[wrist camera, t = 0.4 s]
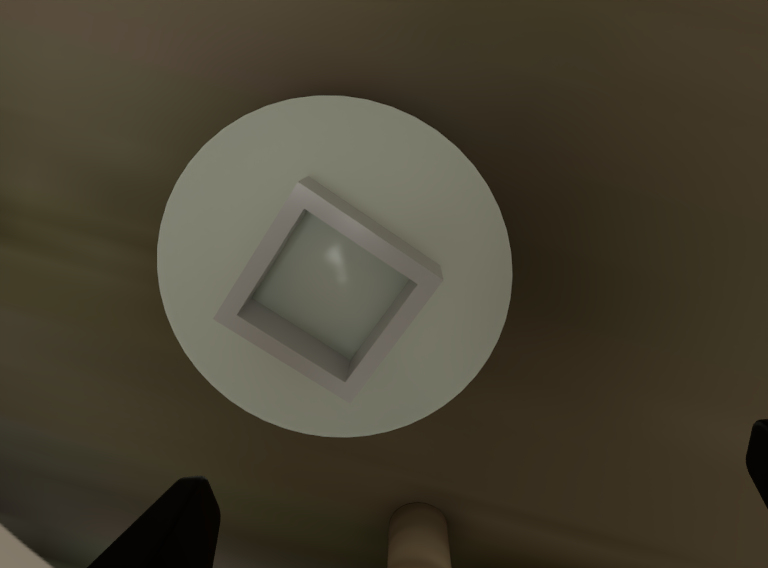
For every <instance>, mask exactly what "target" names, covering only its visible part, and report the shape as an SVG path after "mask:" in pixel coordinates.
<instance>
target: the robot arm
mask: <svg viewBox="0 0 768 568" xmlns="http://www.w3.org/2000/svg"><path fill="white" fill-rule="evenodd" d="M746 465H747V469H748V472H749V474H750V476H751V478H752V480H753V482H754V484H755V486H756V488H757V490H758V491H759V493H760V495H761V497H762V499H763V501H764V503H765V505H766V507H767V509H768V419H762V420H758V421H756V422H755V423H754V424H753V427H752V431H751V436H750V440H749V445H748V450H747V454H746ZM219 526H220V509H219V506H218V503H217V501H216V498H215V496H214V494H213V491H212V489H211V486H210V484H209V482H208V480H207V478H205V477H204V476H192V477H183V478H181V479H179V480H178V481H176V482H175V483H174V484H173V485H172V486H171V487H170V488H169V489H168V490H167V491H166V492H165V493H164V494H163V495H162V496H161V497H160V498H159V499H158V500H157V501H156V502H155V503H154V504H153V505H151V506H150V507H149V508H148V509H147V510H146V511H145V512H144V513H143V514H142V515H141V516H140V517H139V518H138V519H137V520H136V521H135V522H134V523H133V524H132V525H131V526H130V527H129V528H128V529H127V530H126V531H125V532H123V533H122V534H121V535H120V536H119V537H118V538H117V539H116V540H115V541H114V542H113V543H112V544H111V545H110V546H109V547H108V548H107V549H106V550H105V551H104V552H103V553H102V554H101V555H100V556H99V557H98V558H97V559H95V560H94V561H93V562H92V563H91V564H90V565H89V566H88V567H87V568H212V567H213V561H214V556H215V550H216V544H217V538H218V532H219Z"/></svg>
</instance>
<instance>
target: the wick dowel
mask: <svg viewBox="0 0 768 568" xmlns="http://www.w3.org/2000/svg"><path fill="white" fill-rule="evenodd" d="M387 568H451V560H450V550H449V540H448V530H447V522H446V519H445V517H444V515H443V514H442V513H441V512H440V511H439V510H438V509H437V508H435V507H433V506H431V505H429V504H425V503H411V504H407V505H404V506H402V507H400V508H399V509H398V510H396V511H395V512H394V514H393V515H392V517H391V519H390V523H389V543H388V567H387Z"/></svg>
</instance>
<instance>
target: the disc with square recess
mask: <svg viewBox="0 0 768 568" xmlns="http://www.w3.org/2000/svg"><path fill="white" fill-rule="evenodd" d="M157 271H158V279H159V287H160V293H161V297H162V301H163V304H164V308H165V312H166V315H167V317H168V320H169V322H170V325H171V327H172V329H173V332H174V334H175V336H176V338H177V339H178V341H179V343H180V345H181V347H182V348H183V350H184V352H185V353H186V355H187V356H188V357H189V359H190V360H191V361H192V363H193V364H194V366H195V367H196V368H197V370H198V371H199V372H200V373H201V374H202V375H203V376H204V377H205V378H206V379H207V380H208V381H209V383H210V384H211V385H212V386H214V387H215V388H216V389H217V390H218V391H219V392H221V393H222V394H223V395H224V396H225V397H226V398H228V399H229V400H230V401H232V402H233V403H235V404H236V405H238V406H239V407H241V408H242V409H244V410H245V411H247V412H249V413H251V414H253V415H255V416H257V417H258V418H260V419H262V420H264V421H267V422H269V423H272V424H274V425H277V426H280V427H282V428H285V429H289V430H293V431H296V432H300V433H304V434H310V435H317V436H324V437H358V436H369V435H374V434H378V433H383V432H388V431H391V430H394V429H397V428H400V427H404V426H407V425H409V424H411V423H413V422H416V421H418V420H420V419H422V418H424V417H426V416H428V415H430V414H431V413H433V412H434V411H436V410H438V409H439V408H441V407H442V406H444V405H445V404H447V403H448V402H449V401H450V400H451V399H453V398H454V397H455V396H456V395H458V394H459V393H460V392H461V391H462V390H463V389H464V388H465V387H466V386H467V385H468V384H469V383H470V382H471V381H472V380H473V378H474V377H475V376H476V375H477V374H478V372H479V371H480V369H481V368H482V367H483V365H484V364H485V363H486V361H487V360H488V358H489V356H490V354H491V353H492V351H493V349H494V347H495V345H496V343H497V341H498V339H499V337H500V334H501V331H502V329H503V326H504V323H505V321H506V317H507V312H508V308H509V303H510V299H511V288H512V257H511V249H510V244H509V239H508V234H507V229H506V226H505V223H504V220H503V218H502V215H501V212H500V209H499V206H498V204H497V203H496V201H495V199H494V197H493V195H492V193H491V191H490V189H489V187H488V185H487V184H486V182H485V181H484V179H483V178H482V176H481V175H480V173H479V172H478V171H477V169H476V168H475V166H474V165H473V164H472V163H471V162H470V161H469V160H468V158H467V157H466V156H465V155H464V154H463V153H462V152H461V151H460V150H459V149H458V148H457V147H456V146H455V145H454V144H453V143H452V142H450V141H449V140H448V139H447V138H446V137H444V136H443V135H442V134H441V133H439V132H438V131H437V130H435V129H434V128H432V127H430V126H429V125H427V124H426V123H424V122H422V121H421V120H419V119H418V118H416V117H414V116H412V115H409V114H407V113H405V112H403V111H400V110H398V109H396V108H394V107H391V106H388V105H384V104H381V103H378V102H374V101H371V100H367V99H360V98H354V97H347V96H309V97H301V98H294V99H289V100H285V101H281V102H278V103H274V104H271V105H267V106H265V107H262V108H260V109H258V110H256V111H253V112H251V113H249V114H247V115H244V116H243V117H241V118H239V119H238V120H236V121H235V122H233V123H232V124H230V125H228V126H227V127H225V128H224V129H222V130H221V131H220V132H219V133H218V134H216V135H215V136H214V137H213V138H212V139H211V140H209V141H208V142H207V143H206V144H205V145H204V146H203V147H202V148H201V149H200V151H199V152H198V153H197V154H196V155H195V156H194V157H193V159H192V160H191V161H190V162H189V163H188V165H187V166H186V168H185V170H184V171H183V173H182V174H181V176H180V177H179V179H178V181H177V182H176V184H175V186H174V189H173V191H172V193H171V195H170V197H169V200H168V202H167V205H166V208H165V211H164V215H163V218H162V222H161V226H160V232H159V239H158V246H157Z"/></svg>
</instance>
